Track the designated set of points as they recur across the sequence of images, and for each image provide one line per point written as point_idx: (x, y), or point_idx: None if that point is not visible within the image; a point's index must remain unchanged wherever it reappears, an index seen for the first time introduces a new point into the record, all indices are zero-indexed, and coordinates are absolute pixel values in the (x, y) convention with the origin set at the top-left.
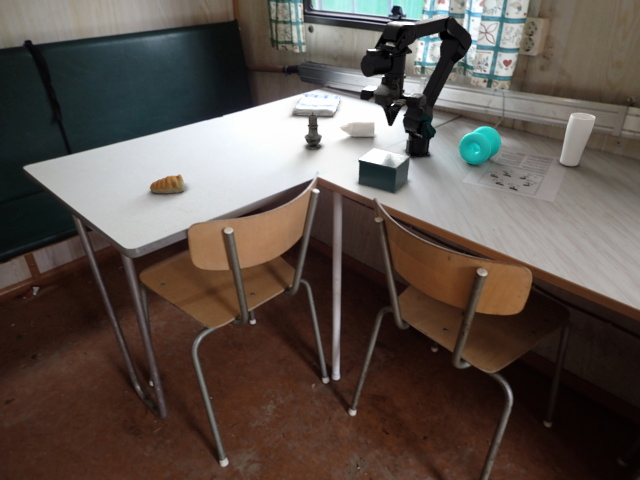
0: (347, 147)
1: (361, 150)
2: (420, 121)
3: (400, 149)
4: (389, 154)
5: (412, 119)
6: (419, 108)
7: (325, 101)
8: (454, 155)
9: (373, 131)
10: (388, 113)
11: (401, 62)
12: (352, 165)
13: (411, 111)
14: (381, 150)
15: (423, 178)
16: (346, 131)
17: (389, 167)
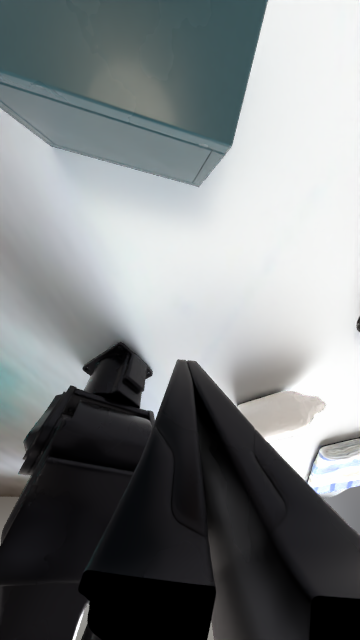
0: (290, 342)
1: (254, 338)
2: (40, 460)
3: (165, 373)
4: (88, 26)
5: (98, 464)
6: (35, 571)
7: (333, 477)
8: (34, 386)
9: (243, 413)
10: (233, 460)
11: None
12: (272, 229)
13: (108, 520)
14: (174, 118)
15: (14, 204)
16: (305, 396)
17: None
